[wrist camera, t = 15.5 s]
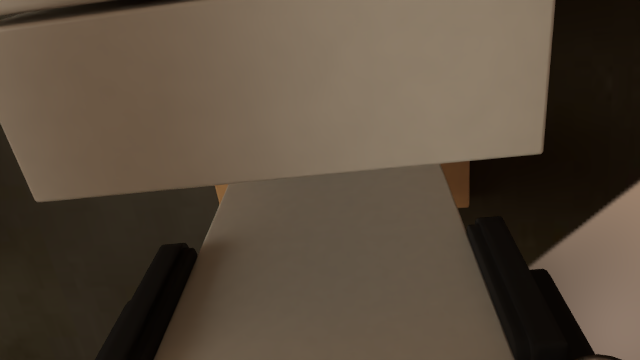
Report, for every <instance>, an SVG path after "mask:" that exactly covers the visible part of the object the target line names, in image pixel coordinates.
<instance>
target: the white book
mask: <svg viewBox="0 0 640 360" xmlns="http://www.w3.org/2000/svg"><path fill="white" fill-rule="evenodd" d="M154 360H515V359H514V356H513V354H512V351H511V348H510V346H509V343H508V340H507V338H506V335H505V333H504V330H503V327H502V325H501V322H500V320H499V317H498V314H497V312H496V309H495V306H494V304H493V301H492V299H491V296H490V293H489V291H488V288H487V286H486V283H485V280H484V278H483V275H482V272H481V270H480V267H479V265H478V262H477V259H476V257H475V254H474V252H473V249H472V246H471V244H470V241H469V238H468V236H467V232H466V229H465V227H464V224H463V222H462V219H461V216H460V214H459V211H458V209H457V206H456V203H455V201H454V198H453V196H452V193H451V190H450V188H449V185H448V183H447V180H446V177H445V175H444V172H443V170H442V167H441V164H432V165H422V166H412V167H401V168H391V169H380V170H370V171H360V172H349V173H339V174H328V175H318V176H308V177H297V178H287V179H276V180H266V181H256V182H245V183H235V184H228V187H227V189H226V191H225V194H224V196H223V198H222V201H221V203H220V205H219V208H218V210H217V212H216V215H215V217H214V219H213V222H212V224H211V226H210V229H209V231H208V233H207V236H206V238H205V240H204V243H203V245H202V247H201V250H200V252H199V254H198V257H197V259H196V262H195V264H194V266H193V269H192V271H191V273H190V276H189V278H188V280H187V283H186V285H185V287H184V290H183V292H182V294H181V297H180V299H179V301H178V304H177V306H176V308H175V311H174V313H173V315H172V318H171V320H170V322H169V325H168V327H167V329H166V332H165V334H164V336H163V339H162V341H161V343H160V346H159V348H158V350H157V353H156V355H155V357H154Z"/></svg>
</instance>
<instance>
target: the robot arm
mask: <svg viewBox="0 0 640 360" xmlns="http://www.w3.org/2000/svg"><path fill="white" fill-rule="evenodd" d="M467 236H468V238H469V241H470V244H471V246H472V249H473V252H474V254H475V257H476V259H477V262H478V265H479V267H480V270H481V272H482V275H483V278H484V280H485V283H486V286H487V288H488V291H489V293H490V296H491V299H492V301H493V304H494V306H495V309H496V312H497V314H498V317H499V320H500V322H501V325H502V327H503V330H504V333H505V335H506V338H507V340H508V343H509V346H510V348H511V351H512V354H513V356H514V359H515V360H621V359H618V358H615V357H612V356H607V355H599V354H596V355H595V353H594V351H593V350H592V348H591V346H590V345H589V343H588V341H587V339H586V337H585V336H584V334H583V332H582V331H581V329H580V327H579V325H578V323H577V322H576V320H575V318H574V316H573V315H572V313H571V311H570V309H569V308H568V306H567V304H566V303H565V301H564V299H563V297H562V295H561V294H560V292H559V290H558V288H557V287H556V285H555V283H554V281H553V279H552V278H551V276H550V275H549V273H548V272H547V270H544V269H535V270H529V268H528V266H527V264H526V263H525V261H524V259H523V257H522V255H521V253H520V251H519V249H518V247H517V245H516V243H515V241H514V239H513V237H512V236H511V234H510V232H509V230H508V228H507V226H506V224H505V222H504V220H503V218H502V217H501V216H497V217H485V218H477V219H476V221H475V225H468V227H467ZM197 257H198V256H197V253H196V251H195V249H194V248H189V247H188V245H187V244H185V243H178V244H167V245H162V246H161V247H160V249H159V250H158V252H157V254H156V256H155V258H154V259H153V261H152V263H151V265H150V267H149V268H148V270H147V272H146V274H145V276H144V277H143V279H142V281H141V283H140V285H139V287H138V288H137V290H136V292H135V294H134V296H133V297H132V299H131V300H130V301H129V302H128V303H127V304H126V305H125V307H124V309H123V311H122V312H121V314H120V316H119V318H118V319H117V321H116V323H115V325H114V327H113V328H112V330H111V332H110V334H109V336H108V337H107V339H106V341H105V343H104V344H103V346H102V348H101V350H100V352H99V353H98V355H97V357H96V359H95V360H154V357H155V355H156V353H157V350H158V348H159V346H160V343H161V341H162V339H163V336H164V334H165V332H166V329H167V327H168V325H169V322H170V320H171V318H172V315H173V313H174V311H175V308H176V306H177V304H178V301H179V299H180V297H181V294H182V292H183V290H184V287H185V285H186V283H187V280H188V278H189V276H190V273H191V271H192V269H193V266H194V264H195V262H196V259H197Z"/></svg>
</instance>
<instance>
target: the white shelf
mask: <svg viewBox="0 0 640 360" xmlns="http://www.w3.org/2000/svg"><path fill="white" fill-rule="evenodd" d="M554 11H555V0H0V16H4V15H11V14H19V13H23V14H19V15H16V16H13V17H9V18H6V19H3V20H0V123H1V125H2V128H3V130H4V132H5V134H6V136H7V139H8V141H9V143H10V145H11V148H12V150H13V152H14V154H15V157H16V159H17V161H18V163H19V166H20V168H21V170H22V172H23V174H24V177H25V179H26V181H27V183H28V186H29V188H30V190H31V192H32V195H33V197H34V199H35V201H36V202H48V201H58V200H69V199H79V198H89V197H100V196H110V195H121V194H131V193H141V192H152V191H162V190H173V189H183V188H193V187H204V186H214V185H215V187H216V191H217V195H218V199H219V203H221V201H222V198H223V196H224V194H225V191H226V189H227V187H228V184H235V183H245V182H256V181H266V180H276V179H287V178H297V177H308V176H318V175H328V174H339V173H349V172H360V171H370V170H380V169H391V168H401V167H412V166H422V165H432V164H441V167H442V170H443V172H444V175H445V177H446V180H447V183H448V185H449V188H450V190H451V193H452V196H453V198H454V201H455V203H456V206H457V208H464V207H469V174H470V161H474V160H484V159H495V158H505V157H515V156H526V155H536V154H541V153H542V152H543V147H544V135H545V122H546V110H547V98H548V85H549V73H550V61H551V48H552V36H553V24H554Z"/></svg>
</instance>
